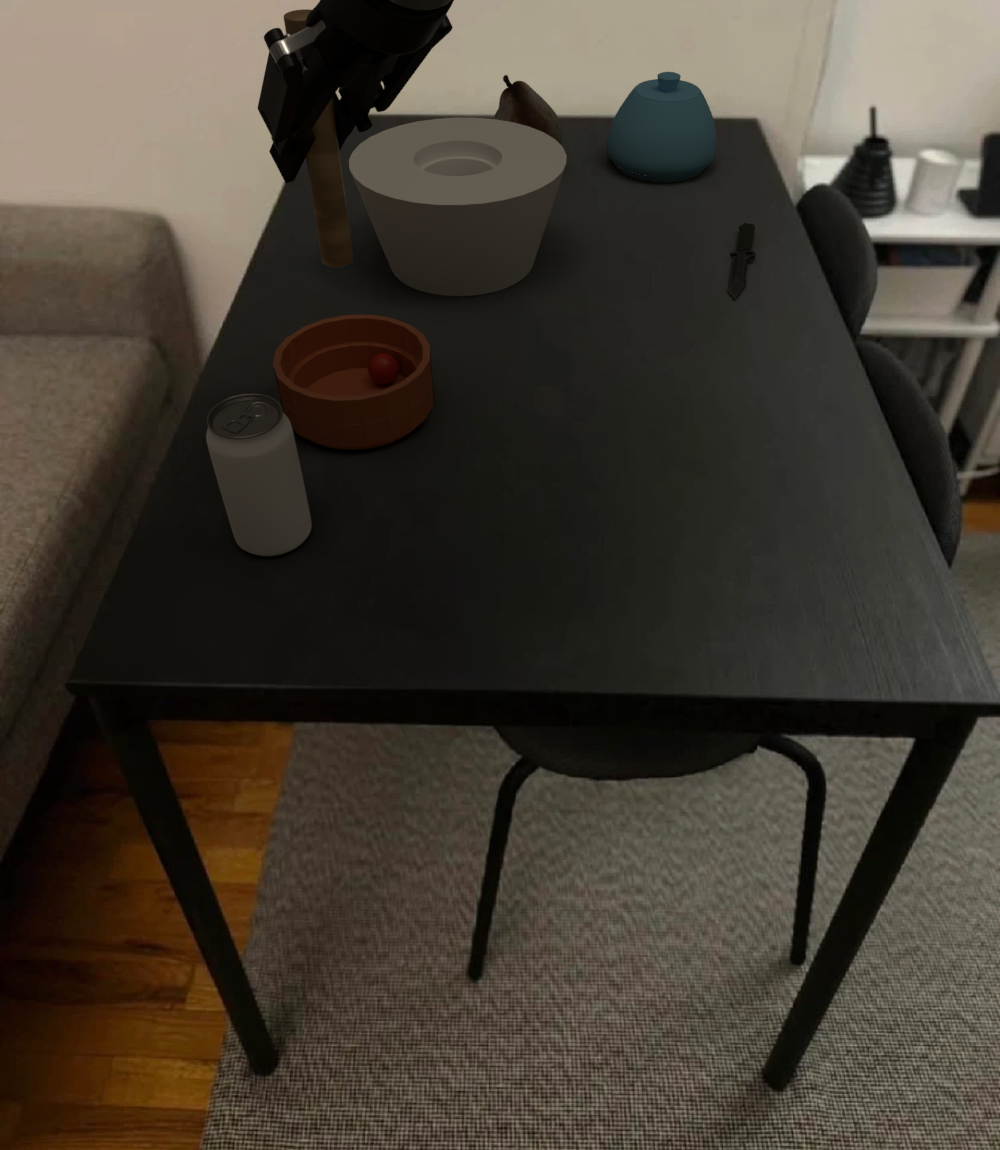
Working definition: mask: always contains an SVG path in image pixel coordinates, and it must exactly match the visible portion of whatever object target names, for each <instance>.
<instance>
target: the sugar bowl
mask: <svg viewBox="0 0 1000 1150" xmlns="http://www.w3.org/2000/svg"><path fill="white" fill-rule="evenodd" d="M681 77H682V76H681V75H680V74H679V73H678V72H676V71H675V72H674V71H662V72H660V73H658V74H657V78H655V79H648V80H645V81H642V82H640V83H637V84H636V85H635V86H634V87H633V88H632V90H631V91H630V92H629V94H628V95H627V96H626V98H625V99H624V100H623V102H622V103H621V105H620V107H619V109H618V110H617V112H616V113H615V115H614V117H613V121H612V122H611V125H610V128H609V131H608V135H607V140H606V152H607V154H608V156H609V158H610V160H611V162H612V163H613V164H614V166H616V168H617V169H618V170H619V171H620V172H621V173H623V174H624V175H626V176H628V177H630V178H634V179H636V180H641V181H646V182H653V183H673V182H680V181H685V180H686V181H687V180H688V179H692V178H694V177H696V176H698V175H700V173H702V172H703V171H705V169H706V168H707V167H708V166H709V165H710V164H711V163H712V162H713V161H714V159H715V156H716V155H717V147H718V141H717V140H718V139H717V138H718V137H717V128H716V123H715V119H714V115H713V113H712V110H711V109H710V106H709V104H708V101H707V99H706V97H705V95H704V94H703V92H702V90H701V89H700V88H699V87H698V86H697V85H696V84H694V83H692V82H689V81H685V80H681ZM618 166H619V167H618ZM620 167H621V168H620ZM622 168H623V169H622ZM629 171H630V172H629ZM632 172H633V173H632ZM635 173H636V174H635ZM639 174H640V175H639ZM644 175H647V176H644Z"/></svg>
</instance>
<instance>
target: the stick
mask: <svg viewBox="0 0 1000 1150" xmlns="http://www.w3.org/2000/svg"><path fill="white" fill-rule="evenodd" d="M312 10H313V9H304V8H303V9H295V10H290V11H288V12H286V13H285V14H283V23H284V29H285V30H284V31H285V35H286V34H288V33H290V34H292V35H293V34H295V33H296V32H298V31H300V30H302V29H304V28H306V25H305V23H306V18H307V16H308V14H309V13H310V12H311V11H312ZM311 130H312V132H313V134H314V136H315V140H314V142H313V144H312V146H311V148H310V150H309V151H308V153H307V155H306V158H305V165H306V169H307V176H308V183H309V189H310V194H311V201H312V202H311V203H312V208H313V214H314V215H313V216H314V221H315V228H316V234H317V240H318V247H319V253H320V260H321V263H322V264H323V265H324V266H326V267H330V268H342V267H346V266H348V265H349V264H351V263H352V262H353V260H354V255H353V246H352V239H351V237H352V236H351V230H350V224H349V223H350V222H349V216H348V207H347V199H346V193H345V192H346V191H345V184H344V177H343V169H342V161H341V154H340V151H339V145H338V138H337V130H336V122H335V114H334V107H333V99H331V100H330V102H329V103H328V105H327V106H326V108H325V109H324V111H323V112H322V114H321V116H320V117H319V119H318V120H317V122H316V123H315V125H314V126H313V128H312V129H311Z"/></svg>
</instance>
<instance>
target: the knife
mask: <svg viewBox="0 0 1000 1150" xmlns="http://www.w3.org/2000/svg"><path fill="white" fill-rule="evenodd" d="M755 228H756V225H755V224H754V223H747V222H743V223H742V224H739V226H738V230H739V233H738V239H737V246H736V251H731V252H729V257H730V258H732V262H731V268H730V274H729V279H728V287H727V292H728V293H729V295H730V296H731V297H732V298H733V299H734V300H736V299H737V298H738V296H739V295H740V294H741V293H742V292H743V290H744V288H745V287H746V285H747V276H748V268H749V261H751V260H756V256H757V252H756V251H755V250H752V249H753V244H754V237H755V231H756V230H755Z"/></svg>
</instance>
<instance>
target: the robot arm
mask: <svg viewBox="0 0 1000 1150" xmlns="http://www.w3.org/2000/svg"><path fill="white" fill-rule="evenodd" d="M454 1H455V0H319V1H318V2H317V4H316V5H315V7H314V8H312V9H311V10H312V11H311V12H310V13H309V14H308V16H307V18H306V23H305V25H306V28H304V29H302V30H300V31H298V32H296V33H295V34H293V35H292V34H290V33H288V34H286V33H285V34H284V32H283V31H282V29H281V28H280V27H273V28H271V29H269V30H267V32H266V33H265V34H264V35H263V39H264V42H265V45H266V47H267V49H268V55H267V60H266V65H265V69H264V73H263V74H264V75H263V79H262V84H261V88H260V93H259V99H258V103H257V110H258V113H259V115H260V117H261V119H262V121H263V122H264V124H265V126H266V129H267V130H268V132H269V134H270V136H271V137H270V138H271V142H272V144H271V146H270V148H269V150H268V152H269V154H270V156H271V158H272V160H273V161H274V164H275V166H276V168H277V169H278V171H279V174H280V175H281V177H282V179H283V181H284V183H285V184H289V183H292V182H295V180H296V178H297V176H298V174H299V172H300V170H301V168H302V167H303V164H304V162H305V161H306V155H307V153H308V151H309V150H310V148H311V146H312V144H313V142H314V140H315V136H314V134H313V132H312V130H311V129H312V128H313V126H314V125H315V123H316V122H317V120H318V119H319V117H320V116H321V114H322V112H323V111H324V109H325V108H326V106H327V105H328V103H329V102H330V100H331V99H333V107H334V114H335V122H336V130H337V138H338V145H339V152H340V151H341V149H342V148H343V146H344V143H345V142H346V140H347V139H348V137H349V136H350V135H352V133H353V131H354V129H355V128H356V129H357V131H358V132H359V133H364V132H366V131H369V130H370V129H371V128H372V127H373V123H372V121H371V119H370V117H369V114H370V112H371V109H375V111H376V112H377V113H381V112H385V111H387V110H388V109H389V108H390V107H391V106H392V104H393V102H394V101H395V100H396V98H397V97H398V95H399V94H401V92H402V90H403V89H404V88H405V86H406V85H407V84H408V82H409V81H410V80H411V78H412V77H413V75H415V73H416V72H417V70H418V68H420V66H421V65H422V63H423V62H424V60H425V59H426V57H428V55H429V54H430V52H431V51H432V50H433V48H434V47H435V46H436V45H438V44H439V43H440V42H441V41H442V40H443V39H444V38H445V37H447V35H448V34H449V33H450V32H452V31H453V24H452V23H451V20H450V18H449V17H448V15H447V14H448V12H449V10H450V9H451V7H452V5H453V4H454ZM382 84H383V85H382ZM337 91H338V93H339V96H340V98H339V96H338V94H337Z"/></svg>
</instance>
